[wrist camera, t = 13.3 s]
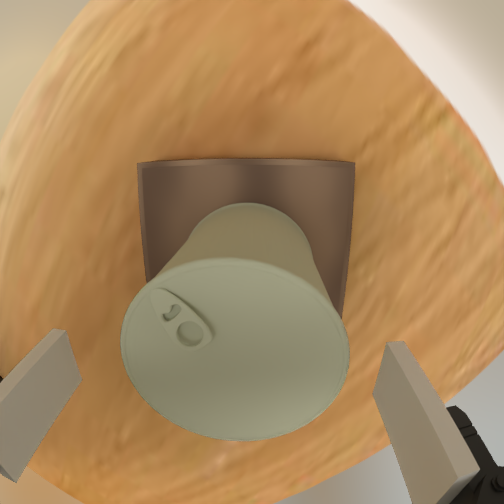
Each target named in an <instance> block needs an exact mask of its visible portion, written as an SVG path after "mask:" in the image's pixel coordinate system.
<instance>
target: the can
mask: <svg viewBox="0 0 504 504" xmlns="http://www.w3.org/2000/svg"><path fill="white" fill-rule="evenodd" d="M120 346H121V355H122V359H123V363H124V366H125V369H126V372H127V374H128V376H129V378H130V380H131V382H132V384H133V385H134V387H135V388H136V390H137V391H138V393H139V394H140V395H141V396H142V398H143V399H144V400H145V401H146V402H147V403H148V404H149V405H150V406H151V407H152V408H153V409H154V410H156V411H157V412H158V413H159V414H161V415H162V416H163V417H165V418H166V419H168V420H169V421H171V422H172V423H174V424H176V425H178V426H180V427H182V428H184V429H186V430H189V431H191V432H194V433H197V434H199V435H203V436H206V437H210V438H215V439H220V440H228V441H256V440H264V439H270V438H274V437H278V436H281V435H285V434H287V433H290V432H292V431H295V430H297V429H299V428H301V427H303V426H304V425H306V424H308V423H310V422H311V421H312V420H314V419H315V418H316V417H318V416H319V415H320V414H321V413H322V412H324V411H325V410H326V409H327V408H328V407H329V406H330V404H331V403H332V402H333V401H334V399H335V398H336V397H337V395H338V393H339V392H340V390H341V388H342V386H343V384H344V381H345V379H346V375H347V372H348V368H349V358H350V349H349V341H348V336H347V332H346V329H345V327H344V324H343V322H342V320H341V318H340V316H339V314H338V312H337V311H336V309H335V308H334V307H333V304H332V302H331V300H330V298H329V295H328V293H327V291H326V289H325V286H324V284H323V282H322V279H321V277H320V275H319V272H318V270H317V268H316V265H315V263H314V260H313V255H312V251H311V247H310V245H309V242H308V240H307V238H306V236H305V234H304V233H303V231H302V230H301V228H300V227H299V226H298V225H297V224H296V223H295V222H294V221H293V220H292V219H291V218H290V217H288V216H287V215H286V214H284V213H282V212H281V211H279V210H277V209H275V208H272V207H270V206H266V205H263V204H258V203H236V204H231V205H227V206H224V207H222V208H219V209H217V210H215V211H213V212H212V213H210V214H209V215H207V216H206V217H205V218H204V219H203V220H201V221H200V222H199V223H198V225H197V226H196V227H195V228H194V230H193V231H192V233H191V235H190V236H189V238H188V240H187V241H186V242H185V244H184V245H183V246H182V247H181V248H180V249H179V250H178V252H177V253H176V254H175V255H174V256H173V257H172V259H171V260H170V261H169V262H168V263H167V264H166V265H165V266H164V267H163V269H162V270H161V271H160V272H159V273H158V274H157V275H156V277H155V278H153V279H152V280H151V281H150V282H148V283H147V284H146V285H145V286H144V287H143V288H142V289H141V290H140V291H139V292H138V294H137V295H136V296H135V297H134V299H133V300H132V302H131V304H130V305H129V307H128V309H127V311H126V314H125V316H124V320H123V323H122V328H121V335H120Z"/></svg>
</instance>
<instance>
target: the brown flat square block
mask: <svg viewBox="0 0 504 504" xmlns="http://www.w3.org/2000/svg"><path fill="white" fill-rule="evenodd" d="M137 170H138V192H139V209H140V222H141V234H142V245H143V255H144V264H145V273H146V281H147V283H148V282H150V281H151V280H152V279H153V278H155V277H156V275H157V274H158V273H159V272H160V271H161V270H162V269H163V267H164V266H165V265H166V264H167V263H168V262H169V261H170V260H171V259H172V257H173V256H174V255H175V254H176V253H177V252H178V250H179V249H180V248H181V247H182V246H183V245H184V244H185V242H186V241H187V240H188V238H189V236H190V235H191V233H192V231H193V230H194V228H195V227H196V226H197V225H198V223H199V222H200V221H201V220H203V219H204V218H205V217H206V216H207V215H209V214H210V213H212V212H213V211H215V210H217V209H219V208H222V207H224V206H227V205H231V204H236V203H258V204H263V205H266V206H270V207H272V208H275V209H277V210H279V211H281V212H282V213H284V214H286V215H287V216H288V217H290V218H291V219H292V220H293V221H294V222H295V223H296V224H297V225H298V226H299V227H300V228H301V230H302V231H303V233H304V234H305V236H306V238H307V240H308V242H309V245H310V247H311V251H312V255H313V260H314V263H315V265H316V268H317V270H318V272H319V275H320V277H321V279H322V282H323V284H324V286H325V289H326V291H327V293H328V295H329V298H330V300H331V302H332V304H333V307H334V308H335V309H336V311H337V312H338V314H339V316H340V318H341V319H342V312H343V305H344V297H345V289H346V281H347V272H348V262H349V252H350V241H351V229H352V216H353V201H354V181H355V163H354V162H345V161H333V160H313V159H284V158H214V159H185V160H165V161H152V162H142V163H137Z"/></svg>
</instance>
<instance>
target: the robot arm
mask: <svg viewBox="0 0 504 504" xmlns="http://www.w3.org/2000/svg"><path fill="white" fill-rule="evenodd" d="M81 381H82V378H81V375H80V372H79V369H78V366H77V363H76V360H75V357H74V354H73V351H72V348H71V345H70V342H69V338H68V335H67V332H66V330H60V329H54V328H53V329H52V330H51V331H50V332H49V333H48V334H47V335H46V336H45V337H44V338H43V339H42V340H41V341H40V342H39V343H38V344H37V345H36V346H35V347H34V348H33V349H32V350H31V351H30V352H29V353H28V354H27V355H26V356H25V357H24V358H23V359H22V360H21V361H20V362H19V363H18V364H17V365H16V367H15V368H14V369H13V370H12V371H11V372H10V373H9V374H8V375H7V376H6V377H5V378H4V379H2V378H1V377H0V473H1V474H2V475H3V476H5V477H6V478H8V479H10V480H12V481H13V482H15V483H17V481H18V479H19V477H20V476H21V474H22V472H23V471H24V469H25V467H26V466H27V464H28V462H29V461H30V459H31V457H32V456H33V454H34V453H35V451H36V449H37V448H38V446H39V445H40V443H41V441H42V440H43V438H44V437H45V435H46V433H47V432H48V430H49V429H50V427H51V426H52V424H53V423H54V421H55V420H56V418H57V417H58V415H59V414H60V412H61V411H62V409H63V408H64V406H65V405H66V403H67V402H68V400H69V399H70V397H71V396H72V394H73V393H74V391H75V390H76V388H77V387H78V385H79V384H80V383H81ZM373 397H374V399H375V402H376V404H377V407H378V409H379V412H380V414H381V417H382V420H383V422H384V425H385V428H386V430H387V433H388V436H389V438H390V441H391V444H392V446H393V449H394V452H395V454H396V457H397V460H398V463H399V466H400V469H401V471H402V474H403V477H404V480H405V483H406V486H407V489H408V492H409V495H410V498H411V501H412V504H504V467H501V466H497V464H496V463H495V462H494V460H493V458H492V456H491V454H490V453H489V451H488V449H487V448H486V446H485V444H484V442H483V441H482V439H481V437H480V436H479V435H477V431H476V429H475V428H474V426H472V423H471V421H470V419H469V418H468V416H467V415H466V414H465V413H464V412H463V411H462V410H461V409H459V408H458V407H457V406H451V407H447V408H445V405H444V404H443V402H442V400H441V399H440V397H439V396H438V394H437V392H436V391H435V389H434V387H433V386H432V384H431V383H430V381H429V379H428V378H427V376H426V375H425V373H424V371H423V370H422V368H421V367H420V365H419V364H418V362H417V361H416V359H415V358H414V356H413V354H412V353H411V351H410V350H409V348H408V347H407V345H406V344H405V342H404V341H396V342H386V346H385V350H384V354H383V358H382V362H381V366H380V370H379V373H378V377H377V380H376V384H375V387H374V390H373Z"/></svg>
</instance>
